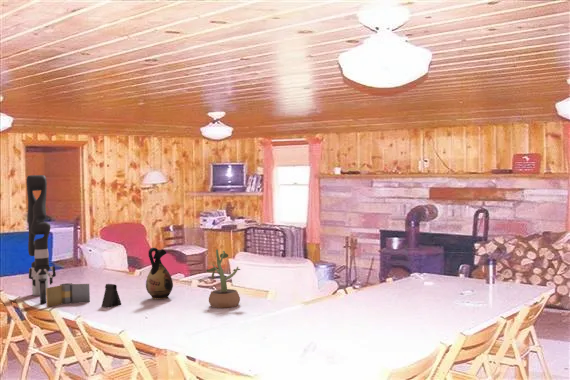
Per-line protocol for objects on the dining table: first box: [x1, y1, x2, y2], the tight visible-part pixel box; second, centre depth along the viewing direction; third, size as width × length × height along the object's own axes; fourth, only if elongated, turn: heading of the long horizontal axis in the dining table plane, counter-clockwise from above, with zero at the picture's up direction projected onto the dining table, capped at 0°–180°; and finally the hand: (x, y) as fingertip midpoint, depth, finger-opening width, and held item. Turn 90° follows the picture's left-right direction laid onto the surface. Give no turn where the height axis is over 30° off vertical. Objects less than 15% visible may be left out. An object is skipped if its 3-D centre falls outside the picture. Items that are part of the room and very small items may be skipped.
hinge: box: [46, 282, 91, 308], centre depth 356 cm, size 10×23×10 cm, turn 118°
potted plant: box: [205, 249, 242, 309], centre depth 342 cm, size 22×18×30 cm
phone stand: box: [101, 283, 122, 309], centre depth 346 cm, size 9×6×12 cm, turn 146°
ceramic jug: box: [145, 247, 174, 300], centre depth 363 cm, size 17×15×30 cm
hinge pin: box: [38, 278, 47, 305], centre depth 358 cm, size 4×4×14 cm
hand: (42, 285), depth 357 cm, fingers open, 8 cm apart
